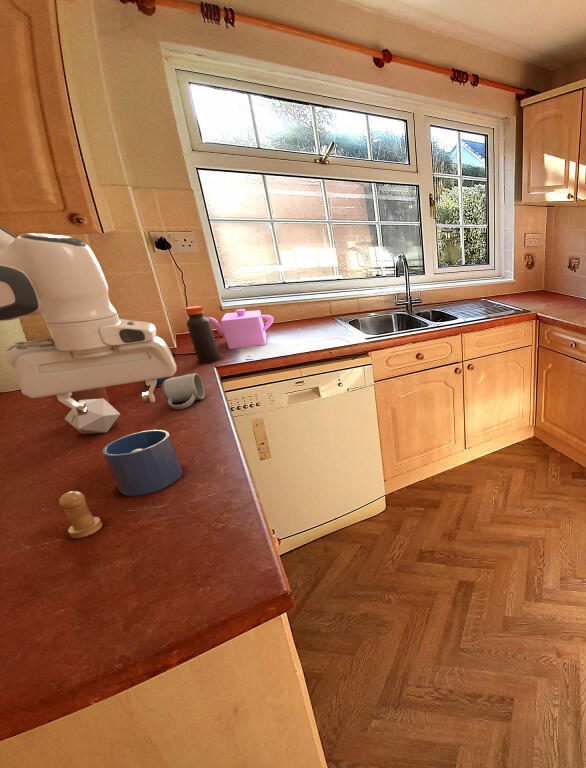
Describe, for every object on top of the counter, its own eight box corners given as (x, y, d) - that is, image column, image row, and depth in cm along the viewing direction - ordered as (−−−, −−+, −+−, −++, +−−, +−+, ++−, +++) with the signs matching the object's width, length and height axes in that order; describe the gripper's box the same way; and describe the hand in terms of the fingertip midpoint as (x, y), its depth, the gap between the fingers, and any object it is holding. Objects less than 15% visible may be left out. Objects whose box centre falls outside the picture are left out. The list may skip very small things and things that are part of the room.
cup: (116, 502, 79) (97, 461, 76) (123, 477, 87) (107, 439, 83) (181, 484, 84) (167, 444, 81) (183, 461, 92) (170, 425, 88)
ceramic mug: (173, 398, 124) (165, 374, 121) (206, 393, 127) (199, 369, 124) (163, 413, 115) (153, 387, 112) (198, 407, 118) (190, 382, 115)
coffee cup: (124, 414, 115) (107, 373, 110) (79, 427, 108) (59, 384, 103) (113, 407, 119) (96, 367, 115) (69, 419, 113) (50, 377, 108)
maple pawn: (68, 542, 69) (48, 503, 67) (73, 528, 73) (54, 491, 70) (100, 532, 72) (82, 494, 69) (104, 519, 75) (87, 482, 72)
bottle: (197, 360, 157) (180, 307, 150) (218, 356, 161) (203, 304, 154) (200, 364, 153) (183, 310, 145) (222, 360, 157) (206, 307, 149)
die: (80, 431, 108) (46, 413, 99) (112, 404, 112) (82, 385, 103) (103, 446, 106) (70, 430, 97) (135, 419, 110) (107, 400, 102)
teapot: (213, 342, 180) (203, 309, 175) (278, 334, 191) (271, 303, 185) (207, 351, 168) (197, 317, 162) (278, 342, 178) (270, 309, 173)
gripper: (-8, 348, 64) (30, 429, 69) (162, 329, 75) (184, 401, 80) (7, 339, 69) (41, 415, 74) (164, 323, 80) (185, 390, 85)
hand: (117, 407), depth 77 cm, fingers open, 8 cm apart
